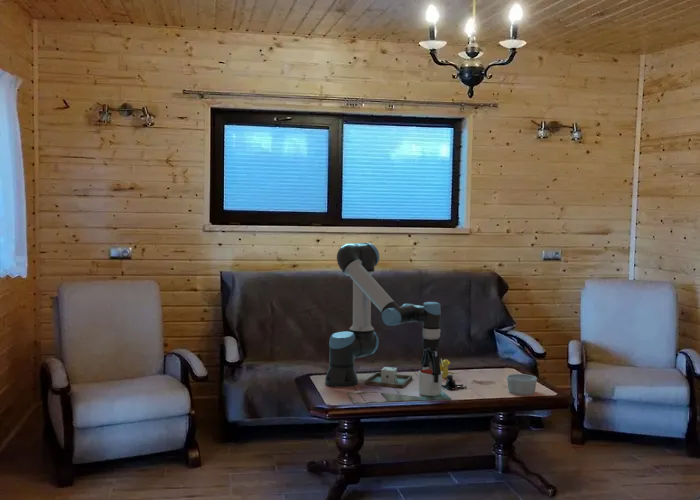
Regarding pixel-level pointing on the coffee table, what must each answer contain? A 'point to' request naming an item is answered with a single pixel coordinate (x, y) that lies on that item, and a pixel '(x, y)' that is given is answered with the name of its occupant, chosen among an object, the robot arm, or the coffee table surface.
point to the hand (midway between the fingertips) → (430, 385)
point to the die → (389, 375)
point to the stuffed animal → (452, 384)
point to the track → (401, 397)
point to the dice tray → (400, 383)
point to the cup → (428, 383)
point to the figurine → (445, 368)
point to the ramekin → (521, 384)
